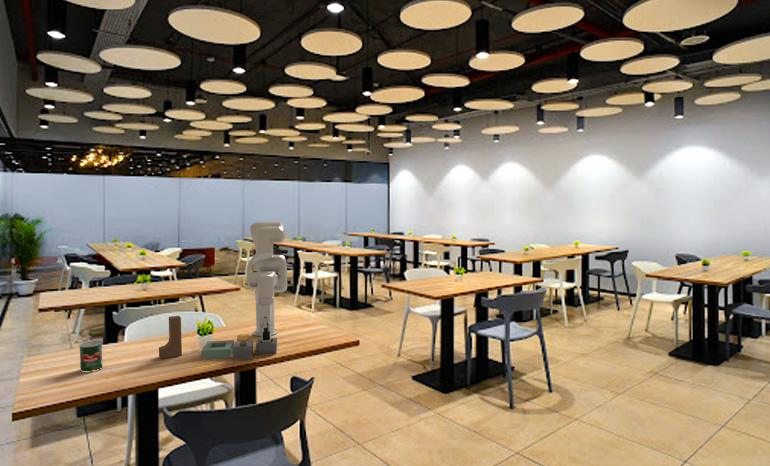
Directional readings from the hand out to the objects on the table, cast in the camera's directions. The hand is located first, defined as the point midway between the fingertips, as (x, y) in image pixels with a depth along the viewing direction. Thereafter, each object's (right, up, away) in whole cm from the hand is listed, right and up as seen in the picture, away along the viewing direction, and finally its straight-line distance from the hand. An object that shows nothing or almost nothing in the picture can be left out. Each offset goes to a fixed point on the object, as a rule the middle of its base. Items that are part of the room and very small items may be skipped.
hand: (266, 338), depth 216 cm
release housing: (-9, -7, -7) cm, 13 cm away
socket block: (0, -6, 0) cm, 6 cm away
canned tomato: (-68, -8, -23) cm, 72 cm away
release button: (-9, -6, -7) cm, 13 cm away
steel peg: (0, -6, 0) cm, 6 cm away
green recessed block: (-22, -6, -2) cm, 23 cm away
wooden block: (-43, -7, -6) cm, 44 cm away
